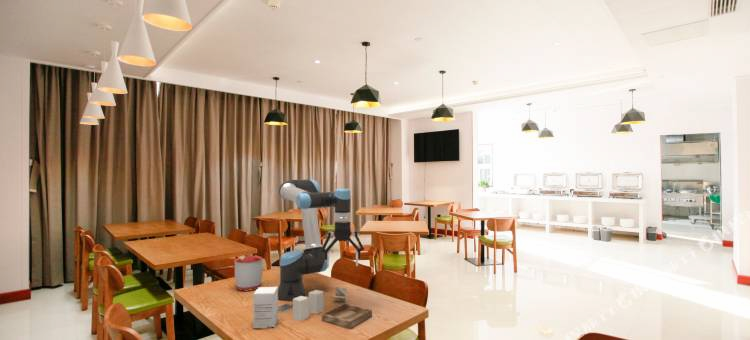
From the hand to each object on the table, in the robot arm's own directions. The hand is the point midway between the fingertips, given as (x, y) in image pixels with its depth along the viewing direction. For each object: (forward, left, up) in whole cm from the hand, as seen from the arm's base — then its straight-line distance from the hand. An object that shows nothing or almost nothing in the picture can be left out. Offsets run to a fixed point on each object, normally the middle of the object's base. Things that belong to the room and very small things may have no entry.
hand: (342, 266), depth 166 cm
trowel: (-26, -16, -22) cm, 38 cm away
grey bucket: (-69, -2, -22) cm, 73 cm away
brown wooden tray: (+7, -5, -22) cm, 23 cm away
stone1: (-11, -16, -22) cm, 29 cm away
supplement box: (-19, -29, -22) cm, 41 cm away
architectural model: (-10, +10, -22) cm, 26 cm away
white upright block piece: (-11, -6, -22) cm, 25 cm away
